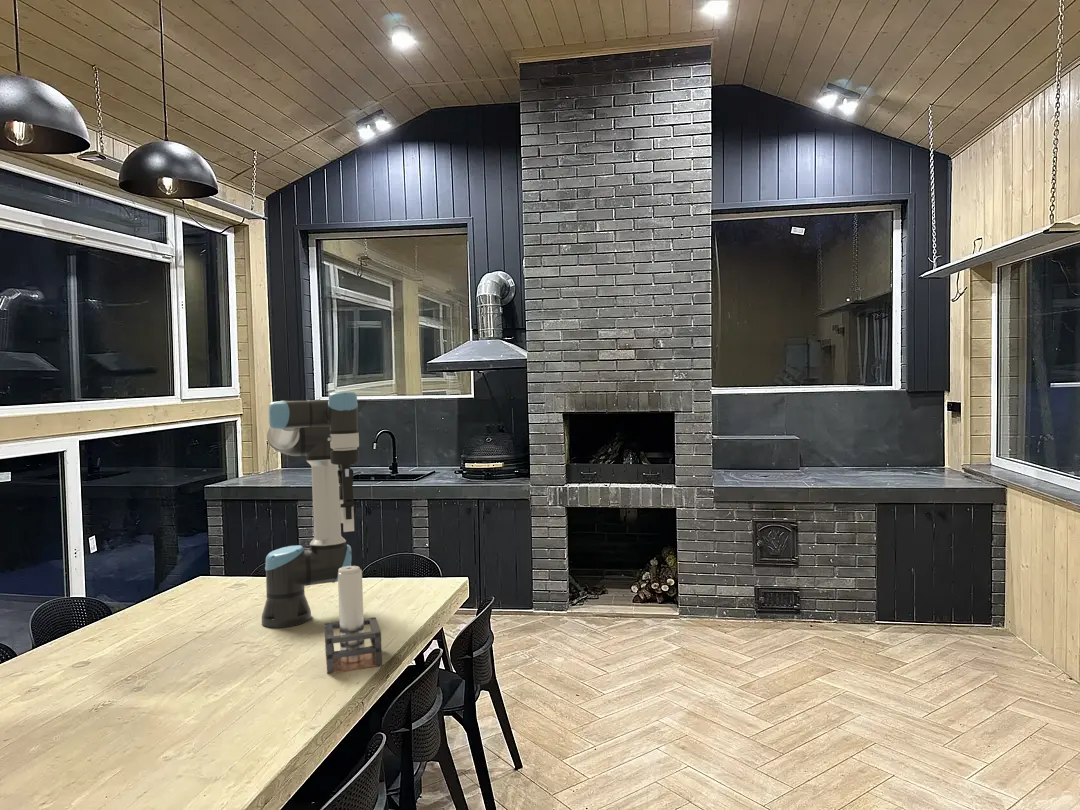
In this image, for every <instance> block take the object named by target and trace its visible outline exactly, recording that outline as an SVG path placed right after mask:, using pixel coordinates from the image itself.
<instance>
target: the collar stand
mask: <svg viewBox="0 0 1080 810" xmlns="http://www.w3.org/2000/svg"><path fill="white" fill-rule="evenodd" d="M368 625H369V627H370V630H369V631H364V632H363V633H355V634H347V635H340V634H339V635H334V630H337V629H340V622H339V621H336V622H335V621H334V622H327V623H326V622H325V623H324V644H325V645H324V646H325V648H324V649H325V661H326V662H325V663H326V673H327V675H329V674H330V675H331V674H337V673H344V672H352V671H357V670H363V669H364V670H365V669H371V668H377V667H379V668H380V667H383V656H382V655H383V653H382V631H381V628H380V626H379V622H378V620H377V617H376V616H374V617H368V618H365V617H364V626H368ZM362 639H364V640H369V641H370V645H371V646H370V645H369V646H364V647H362V648H355V649H348V650H340V649H339V650H335V648H334V647H335V645H334V644H340V642H347V641H355V640H362ZM363 654H365V658H364V659H363V660H361V661H359V662H355V663H344V662H342V661H341V660H340V659H341V658H342V657H349V656H356V655H363Z"/></svg>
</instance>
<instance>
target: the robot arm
mask: <svg viewBox="0 0 1080 810" xmlns="http://www.w3.org/2000/svg"><path fill="white" fill-rule="evenodd" d="M357 396H358V395H357V393H355V392H354V391H353V392H351V391H349V392H347V391H346V392H345V391H343V392H330V393H329V394H328V399H317V400H315V399H312V400H280V401H279V400H278V401H272V402H270V403H269V404H268V423H269V424H268V425H269V427H268V430H267V434H266V435H267V436H266V438H267V442H268V444H269V446H270V447H271V448H272V449H274V450H275V451H276V452H279V453H281V454H283V455H286V456H292V457H302V456H305V457H306V458H305V460H306V462H307V464H309V465H310V467H311V485H312V486H311V487H312V489H311V491H312V493H311V494H312V514H313V539H312V540H311V541H310V542H309V549H305V548H304V547H303V546H302V545H297V544H296V545H288V546H283V547H280V548H277V549H275V550H272V551H270V552H269V553H268V554H267V555H266V557H265V567H264V570H265V580H266V581H265V584H266V585H265V586H266V600H265V604H264V607H263V611H262V614H261V625H263V626H264V627H267V628H274V629H275V628H287V627H294V626H298V625H301V624H304V623H306V622H308V621H310V620H311V618H312V611H311V607H310V605H309V603H308V602H309V601H308V600H307V599H308V598H307V597H306V594H305V587H306V586H314V585H322V584H329V583H330V584H331V583H332V584H334V583H335V584H336V583H337V582H338V572H339V570H338V569H339V568H341V567H345V566H352V547H351V545H349V544H347V540H346V539H345V538H344V537H343V536H342V526H341V524H342V525H343V533H348V532H355V514H354V513H355V511H354V507H355V501H354V490H353V489H354V488H353V486H354V470H353V469H352V468H351V465H354V464H358V463H359V462H360V450H359V449H358V448H359V447H360V437H359V434H360V433H359V419H358V418H359V416H358V415H359V414H358V412H359V411H358V409H359V408H358V407H359V403H358V397H357Z"/></svg>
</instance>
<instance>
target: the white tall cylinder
mask: <svg viewBox="0 0 1080 810" xmlns="http://www.w3.org/2000/svg"><path fill="white" fill-rule="evenodd" d="M338 570H339V572H338V583H337V585H338V586H337V587H338V589H337V590H338V615H339V616H338V617H339V620H338V622H340V628H339V636H340V635H347V634H355V633H363V632H365V625H364V619H365V617H364V595H363V594H364V593H363V571H362V568H360V566H357V565H351V566H345V567H341V568H339V569H338ZM339 646H340V649H339V651H340V650H348V649H355V648H362V647H365V639H362V640H355V641H347V642H340V643H339ZM364 658H365V654H363V655H356V656H349V657H342V658H341V659H340V660H341V661H342V662H344V663H355V662H359V661H361V660H363V659H364Z"/></svg>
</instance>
